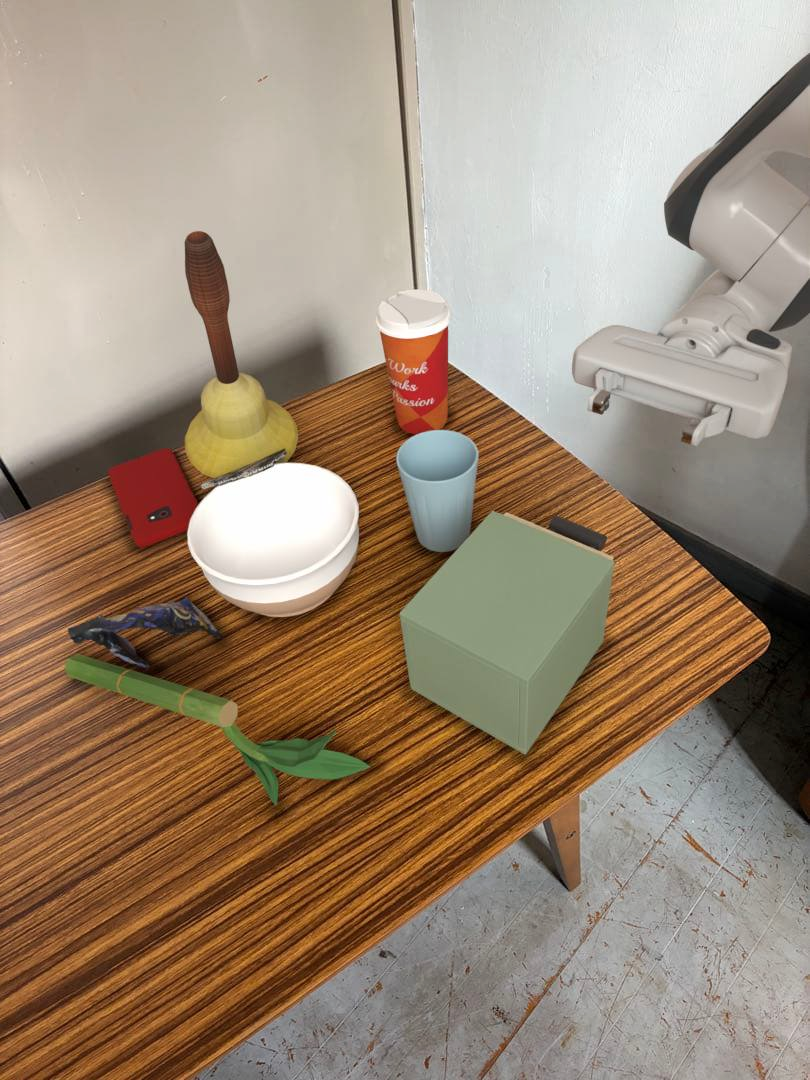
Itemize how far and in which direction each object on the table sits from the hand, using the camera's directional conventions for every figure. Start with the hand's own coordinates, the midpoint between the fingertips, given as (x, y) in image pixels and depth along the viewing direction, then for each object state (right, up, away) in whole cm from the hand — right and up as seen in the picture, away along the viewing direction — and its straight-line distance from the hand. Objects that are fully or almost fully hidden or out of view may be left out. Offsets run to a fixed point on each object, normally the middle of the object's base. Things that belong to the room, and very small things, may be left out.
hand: (640, 422), depth 74 cm
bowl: (-33, -15, +5) cm, 37 cm away
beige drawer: (-11, -19, -3) cm, 22 cm away
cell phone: (-50, -5, +14) cm, 52 cm away
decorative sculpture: (-34, -1, +9) cm, 35 cm away
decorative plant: (-39, -27, -7) cm, 48 cm away
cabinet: (-13, -22, -5) cm, 26 cm away
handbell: (-40, 0, +13) cm, 42 cm away
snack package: (-51, -20, -4) cm, 55 cm away
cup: (-18, -10, +7) cm, 22 cm away
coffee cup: (-20, +3, +21) cm, 29 cm away
